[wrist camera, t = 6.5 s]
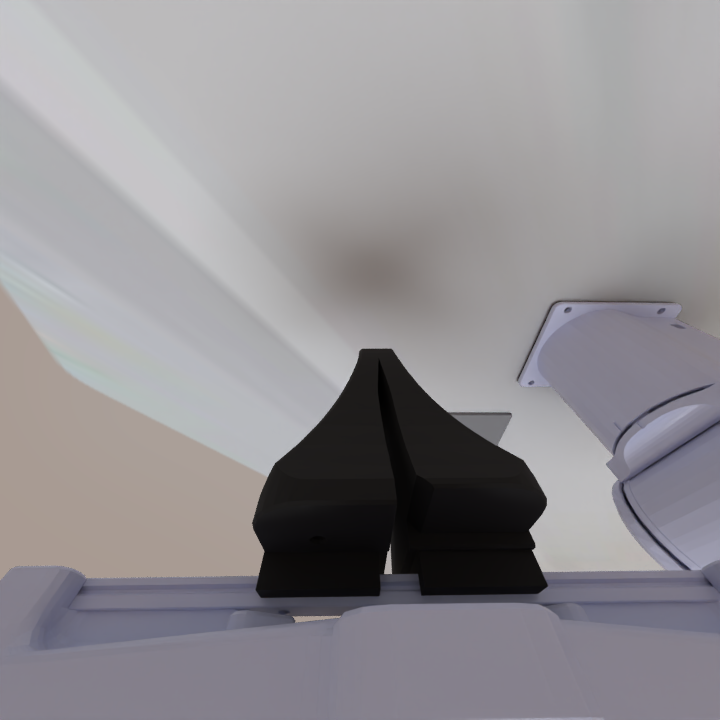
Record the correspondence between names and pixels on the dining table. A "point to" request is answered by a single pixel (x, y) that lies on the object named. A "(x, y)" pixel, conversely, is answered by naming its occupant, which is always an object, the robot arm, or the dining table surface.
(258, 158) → the dining table surface
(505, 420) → the mat
